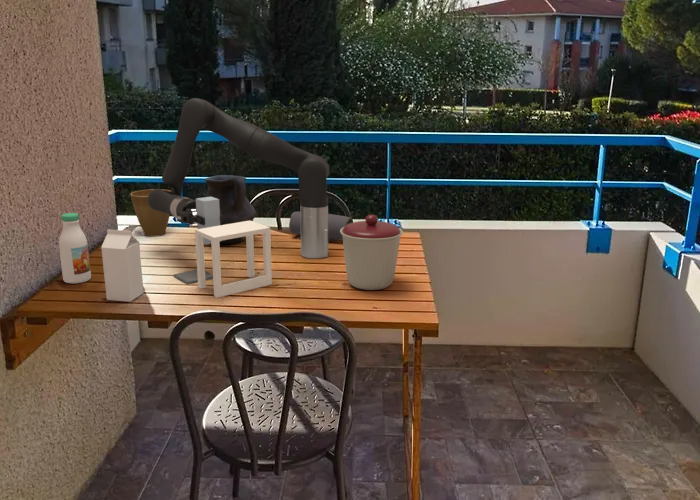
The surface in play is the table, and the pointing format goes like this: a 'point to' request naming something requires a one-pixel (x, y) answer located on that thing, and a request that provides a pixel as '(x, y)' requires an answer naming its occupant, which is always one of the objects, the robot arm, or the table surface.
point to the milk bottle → (73, 251)
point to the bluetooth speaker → (333, 225)
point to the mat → (191, 276)
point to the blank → (208, 213)
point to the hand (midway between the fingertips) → (212, 220)
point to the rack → (240, 231)
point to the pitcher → (231, 201)
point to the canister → (370, 252)
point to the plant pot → (149, 214)
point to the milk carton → (122, 266)
